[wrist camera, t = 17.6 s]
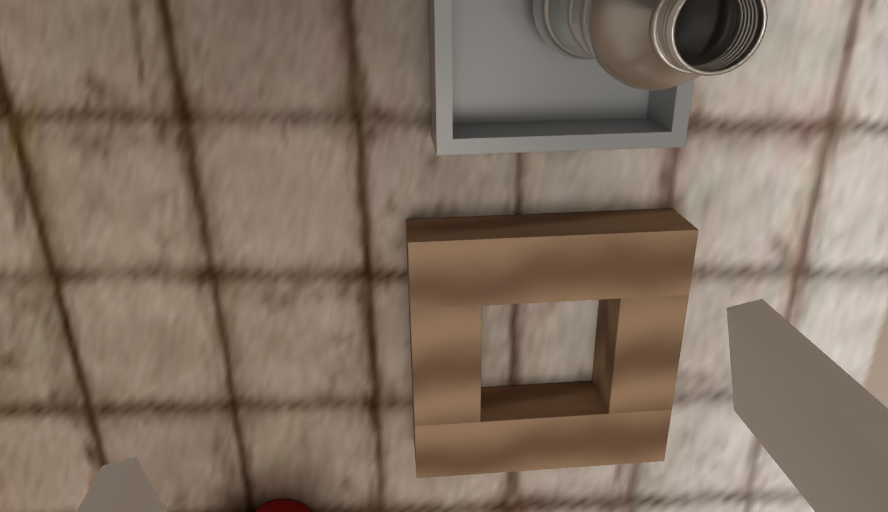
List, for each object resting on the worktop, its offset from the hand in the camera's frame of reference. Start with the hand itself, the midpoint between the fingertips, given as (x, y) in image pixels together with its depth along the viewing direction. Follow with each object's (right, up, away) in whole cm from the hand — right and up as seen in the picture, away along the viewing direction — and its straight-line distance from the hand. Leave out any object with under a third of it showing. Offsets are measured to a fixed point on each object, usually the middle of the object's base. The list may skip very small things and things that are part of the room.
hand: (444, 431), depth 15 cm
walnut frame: (+7, -2, +38) cm, 39 cm away
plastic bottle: (+8, +20, +28) cm, 36 cm away
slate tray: (+7, +20, +29) cm, 36 cm away
